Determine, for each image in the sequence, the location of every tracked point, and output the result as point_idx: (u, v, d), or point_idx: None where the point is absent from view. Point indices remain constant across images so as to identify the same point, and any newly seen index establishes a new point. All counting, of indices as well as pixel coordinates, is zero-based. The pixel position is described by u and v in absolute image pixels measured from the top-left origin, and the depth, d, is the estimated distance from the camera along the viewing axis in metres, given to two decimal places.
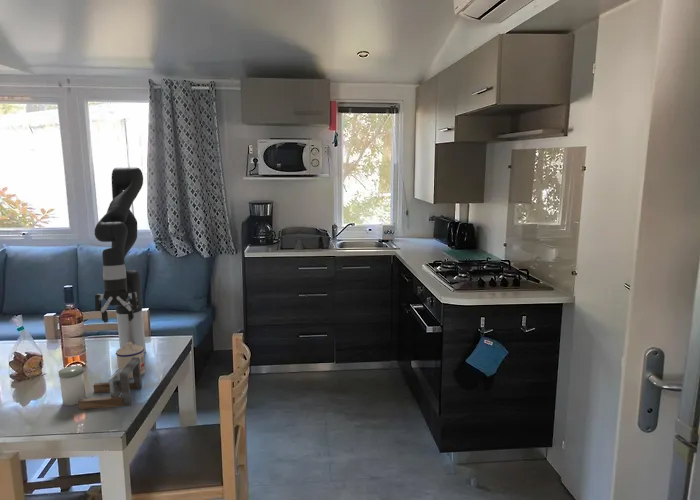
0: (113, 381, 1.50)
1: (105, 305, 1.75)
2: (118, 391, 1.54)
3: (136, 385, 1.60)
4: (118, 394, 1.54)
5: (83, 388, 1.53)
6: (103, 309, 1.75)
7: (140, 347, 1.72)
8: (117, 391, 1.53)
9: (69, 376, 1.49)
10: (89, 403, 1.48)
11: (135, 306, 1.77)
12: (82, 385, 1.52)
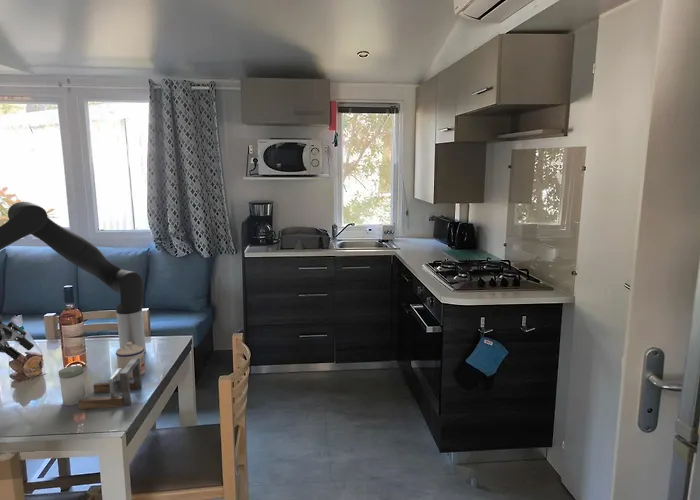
0: (113, 381, 1.50)
1: None
2: (118, 391, 1.54)
3: (136, 385, 1.60)
4: (118, 394, 1.54)
5: (83, 388, 1.53)
6: None
7: (140, 347, 1.72)
8: (117, 391, 1.53)
9: (69, 376, 1.49)
10: (89, 403, 1.48)
11: None
12: (82, 385, 1.52)
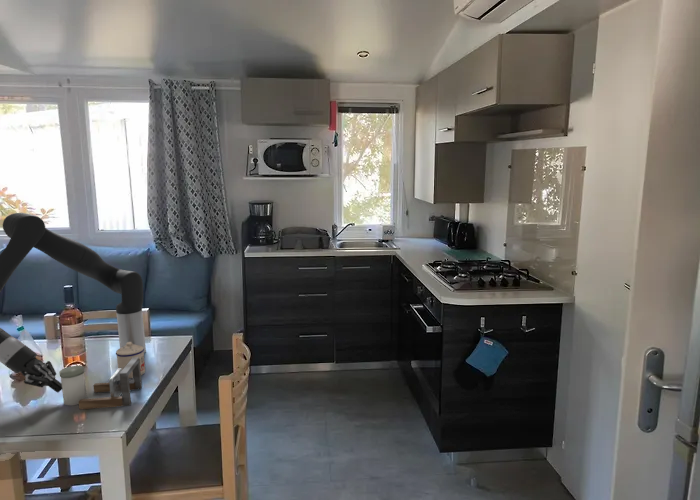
0: (113, 381, 1.50)
1: None
2: (118, 391, 1.54)
3: (136, 385, 1.60)
4: (118, 394, 1.54)
5: (84, 388, 1.53)
6: None
7: (140, 347, 1.72)
8: (117, 391, 1.53)
9: (70, 376, 1.49)
10: (89, 403, 1.48)
11: None
12: (83, 385, 1.52)
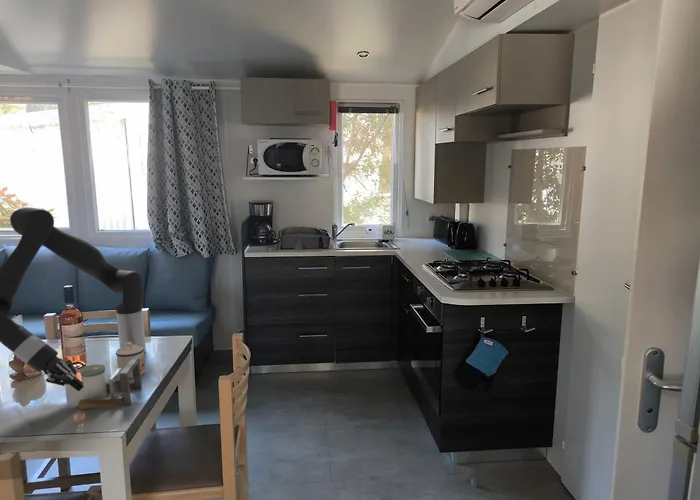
0: (113, 381, 1.50)
1: None
2: (118, 391, 1.54)
3: (136, 385, 1.60)
4: (118, 394, 1.54)
5: (105, 386, 1.54)
6: None
7: (140, 347, 1.72)
8: (117, 391, 1.53)
9: (92, 374, 1.50)
10: (89, 403, 1.48)
11: None
12: (104, 383, 1.53)
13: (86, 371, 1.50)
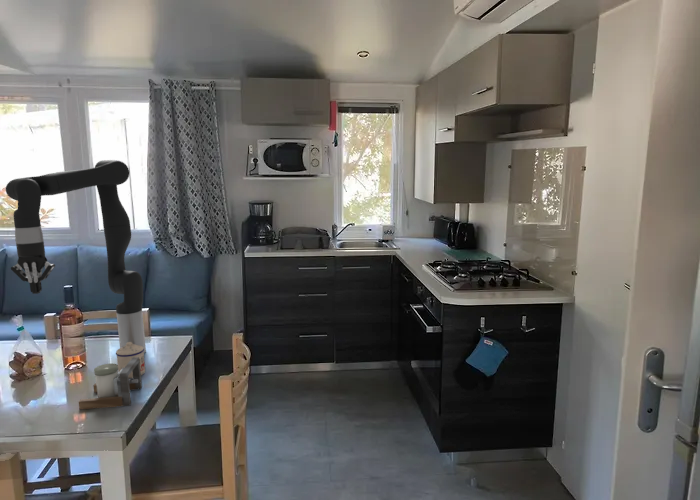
0: (117, 381, 1.50)
1: (27, 274, 1.57)
2: None
3: (136, 385, 1.60)
4: None
5: None
6: (31, 279, 1.58)
7: (140, 347, 1.72)
8: None
9: (106, 373, 1.50)
10: (89, 403, 1.48)
11: (42, 278, 1.58)
12: None
13: (100, 370, 1.51)
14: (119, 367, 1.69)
